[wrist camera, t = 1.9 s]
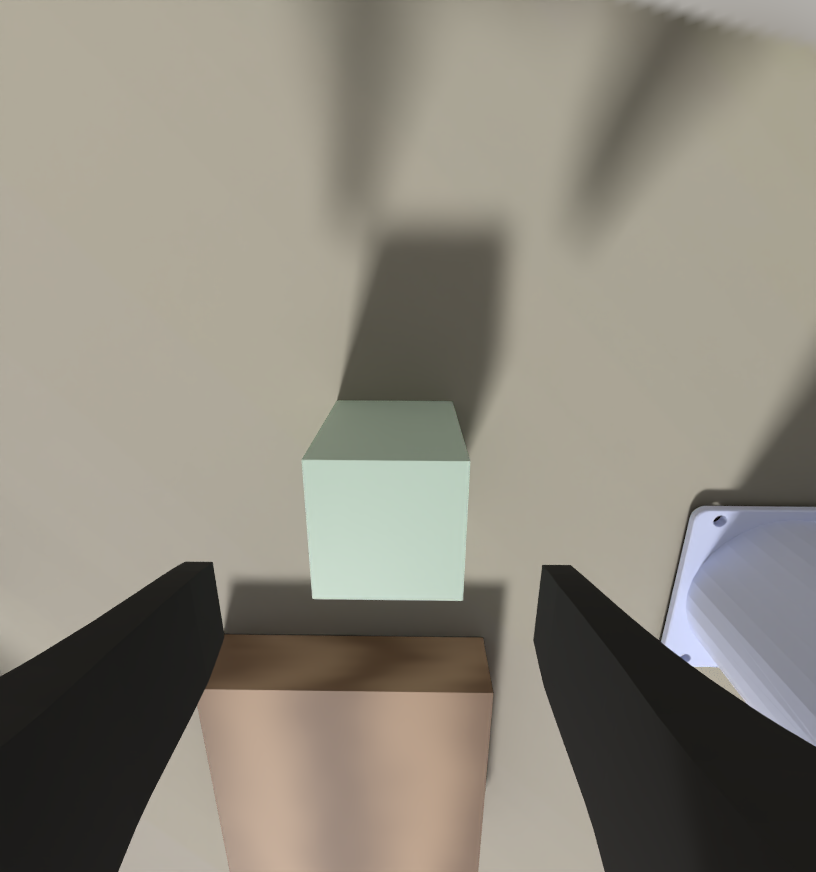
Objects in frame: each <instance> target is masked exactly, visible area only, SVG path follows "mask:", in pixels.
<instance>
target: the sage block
mask: <svg viewBox="0 0 816 872" xmlns="http://www.w3.org/2000/svg"><path fill="white" fill-rule="evenodd" d="M302 471H303V484H304V497H305V510H306V523H307V536H308V549H309V562H310V575H311V588H312V599H351V600H437V601H463V589H464V570H465V551H466V532H467V513H468V494H469V475H470V459H469V455H468V452H467V449H466V445H465V442H464V439H463V435H462V432H461V428H460V425H459V422H458V418H457V415H456V412H455V408H454V405H453V402H452V401H358V400H337V401H336V403H335V405H334V406H333V408H332V410H331V411H330V413H329V415H328V416H327V418H326V420H325V422H324V423H323V425H322V427H321V428H320V430H319V432H318V433H317V435H316V437H315V438H314V440H313V442H312V443H311V445H310V447H309V448H308V450H307V452H306V453H305V455H304V457H303V458H302Z"/></svg>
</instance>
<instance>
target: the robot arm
mask: <svg viewBox="0 0 816 872" xmlns="http://www.w3.org/2000/svg"><path fill="white" fill-rule="evenodd" d="M717 516H721V517H720V519H719V520H717V521H716V522H713V521H714V519H715V518H716V517H717ZM223 640H224V630H223V624H222V618H221V612H220V605H219V599H218V593H217V586H216V580H215V574H214V568H213V562H184V563H182V564H180V565H179V566H177V567H175V568H173V569H172V570H170V571H169V572H167V573H166V574H164V575H162V576H161V577H159V578H158V579H156V580H155V581H153V582H152V583H150V584H149V585H147V586H146V587H144V588H143V589H141V590H140V591H138V592H137V593H135V594H134V595H132V596H131V597H129V598H128V599H126V600H125V601H123V602H122V603H120V604H119V605H117V606H116V607H114V608H112V609H111V610H109V611H108V612H106V613H105V614H103V615H102V616H100V617H99V618H97V619H96V620H94V621H93V622H91V623H90V624H88V625H86V626H85V627H83V628H81V629H80V630H78V631H76V632H75V633H73V634H72V635H70V636H68V637H67V638H65V639H63V640H62V641H60V642H59V643H57V644H55V645H54V646H52V647H50V648H49V649H47V650H46V651H44V652H42V653H41V654H39V655H37V656H36V657H34V658H32V659H31V660H29V661H27V662H25V663H24V664H22V665H20V666H18V667H17V668H15V669H13V670H11V671H10V672H8V673H6V674H4V675H2V676H1V677H0V872H118V871H119V868H120V866H121V863H122V861H123V858H124V856H125V854H126V851H127V849H128V846H129V844H130V841H131V839H132V837H133V834H134V832H135V829H136V827H137V824H138V822H139V820H140V818H141V816H142V814H143V812H144V809H145V807H146V805H147V803H148V801H149V799H150V797H151V795H152V793H153V791H154V789H155V787H156V785H157V783H158V781H159V779H160V777H161V775H162V773H163V771H164V769H165V767H166V765H167V763H168V761H169V759H170V757H171V756H172V754H173V752H174V750H175V748H176V746H177V744H178V742H179V740H180V738H181V736H182V734H183V732H184V730H185V728H186V726H187V724H188V722H189V720H190V718H191V716H192V714H193V712H194V710H195V708H196V706H197V704H198V702H199V700H200V698H201V696H202V694H203V692H204V690H205V688H206V686H207V684H208V682H209V679H210V676H211V674H212V671H213V668H214V666H215V663H216V660H217V658H218V655H219V652H220V649H221V646H222V643H223ZM534 645H535V650H536V654H537V659H538V663H539V668H540V672H541V676H542V680H543V684H544V688H545V691H546V694H547V697H548V700H549V703H550V705H551V708H552V711H553V714H554V717H555V720H556V723H557V725H558V728H559V731H560V734H561V737H562V739H563V742H564V745H565V748H566V751H567V753H568V756H569V759H570V762H571V765H572V767H573V770H574V773H575V776H576V779H577V781H578V784H579V787H580V790H581V793H582V795H583V798H584V801H585V804H586V807H587V810H588V814H589V817H590V820H591V823H592V826H593V829H594V833H595V836H596V840H597V844H598V848H599V852H600V855H601V859H602V863H603V867H604V870H605V872H816V507H776V506H701V507H698V508H696V509H695V510H694V511H693V512H692V514H691V516H690V519H689V523H688V528H687V532H686V536H685V541H684V545H683V549H682V554H681V558H680V562H679V567H678V571H677V575H676V579H675V584H674V588H673V592H672V597H671V601H670V605H669V610H668V614H667V618H666V623H665V627H664V631H663V635H662V640H661V642H660V641H659V640H658V639H656V638H655V637H654V636H653V635H651V634H650V633H649V632H648V631H646V630H645V629H644V628H643V627H642V626H640V625H639V624H638V623H637V622H636V621H634V620H633V619H632V618H631V617H630V616H629V615H627V614H626V613H625V612H624V611H623V610H622V609H620V608H619V607H618V606H617V605H616V604H615V603H613V602H612V601H611V600H610V599H609V598H608V597H607V596H605V595H604V594H603V593H602V592H601V591H600V590H599V589H598V588H596V587H595V586H594V585H593V584H592V583H591V582H590V581H588V580H587V579H586V578H585V577H584V576H583V575H582V574H580V573H579V572H578V571H577V570H576V569H575V568H573V567H572V566H571V565H542V572H541V581H540V589H539V598H538V606H537V615H536V623H535V632H534ZM683 654H684V655H683ZM681 655H683V656H681ZM694 667H719V668H720V669H721V671H722V672H723V673H724V675H725V676H726V677H727V678H728V680H729V681H730V682H731V684H732V685H733V686H734V688H735V689H736V690H737V691H738V693H739V694H740V695H741V697H742V698H743V699H744V701H745V702H746V703H747V704H746V703H745V702H743V701H742V700H740V699H739V698H737V697H736V696H734V695H733V694H731V693H730V692H728V691H727V690H725V689H724V688H722V687H721V686H719V685H718V684H716V683H715V682H713V681H712V680H711V679H709V678H708V677H706V676H705V675H704V674H702V673H701V672H699V671H698V670H697V669H695V668H694Z"/></svg>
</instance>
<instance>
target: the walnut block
mask: <svg viewBox="0 0 816 872" xmlns="http://www.w3.org/2000/svg"><path fill="white" fill-rule="evenodd" d="M492 704H493V688H492V683H491V678H490V672H489V667H488V662H487V656H486V651H485V646H484V641H483V638H481V637H398V636H315V635H232V634H224V640H223V643H222V646H221V649H220V652H219V655H218V658H217V660H216V663H215V666H214V668H213V671H212V674H211V676H210V679H209V682H208V684H207V686H206V688H205V690H204V692H203V694H202V696H201V698H200V700H199V702H198V704H197V707H198V712H199V717H200V722H201V727H202V732H203V737H204V743H205V748H206V753H207V758H208V763H209V768H210V773H211V778H212V784H213V789H214V794H215V799H216V804H217V809H218V814H219V819H220V825H221V830H222V835H223V840H224V845H225V850H226V855H227V860H228V866H229V871H230V872H478V867H479V855H480V844H481V832H482V820H483V809H484V797H485V785H486V774H487V762H488V750H489V739H490V727H491V716H492Z"/></svg>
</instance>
